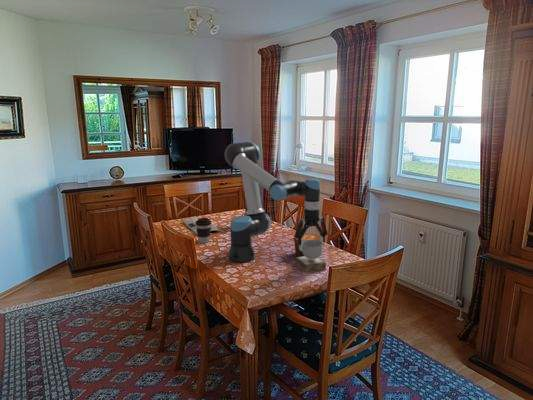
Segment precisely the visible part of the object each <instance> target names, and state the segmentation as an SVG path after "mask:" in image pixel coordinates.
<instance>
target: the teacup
mask: <svg viewBox="0 0 533 400" xmlns="http://www.w3.org/2000/svg"><path fill="white" fill-rule="evenodd" d="M323 245H324V242H323V243H322V242H321V241H319V240H312V239H309V240H306V241H303V255H304V256H306V257H307V258H309V259H316V258H318V257H319V258H321V256H322V254H323V247H324V246H323Z"/></svg>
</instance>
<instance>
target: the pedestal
mask: <svg viewBox="0 0 533 400" xmlns="http://www.w3.org/2000/svg"><path fill="white" fill-rule="evenodd" d="M295 266H297V268H299V269H300V270H301V272H303V273H305V274H307V273H315V272H321V271H326V270H327V262H326V261H325V260H323V259H322V258H321V257H318V258H316V259H309V258H307V257H306V256H303V257H297V256H296V257H295Z"/></svg>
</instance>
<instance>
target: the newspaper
mask: <svg viewBox="0 0 533 400" xmlns="http://www.w3.org/2000/svg"><path fill="white" fill-rule="evenodd" d="M199 218H200V217H192V218H187V219H182V223H184V225H185V226H186V227H188V228H189V229H190V230H191V231H192V232H193V233H194V234H195V235H196V236H197V225H196V223H195V222H196V221H198V219H199ZM201 218H204V217H201ZM210 226H211V232H212V231H215V233H222V230H221V229H220V228H218V226H216V225H215V224H213V222H211V224H210Z"/></svg>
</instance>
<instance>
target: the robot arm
mask: <svg viewBox="0 0 533 400" xmlns="http://www.w3.org/2000/svg"><path fill="white" fill-rule="evenodd" d="M224 150H225V151H224V158H225V161H226V162H227V163H228V165H230V166H231V167H232V168H233V169H234V170H235V169H236V170H239V171H240V172H241V177H242V184H243V189H244V196H245V198H246V202H245V205H246V204H247V212H246V213H245V212H244V214H245V215H246V216H245V215H237V216H235V217H233V218H232V219H231V220H230V227H229V229H230V247H229V251H228V253H227V259H228V260H229V261H231V262H234V263H240V264H242V263H248V262H252V261H253V260H255V258H256V254H255V250H254V247H253V245H252V239H253V238H254V237H256V236H259V235H262V234H264V233H266V232H268V231H269V229H270V227H271V224H272V223H271V218H270V216H269V214H267V213H266V210H265V209H264V208H263V207H262V198H261V199H260V197H261V194H260V186H261V187H262V188H264V189H265V190H267V191H268V192H269V195H270V197H271V198H272V199H273V200H275V201H282V200H284V199H288V198H292V197H295V196H300V197H304V217H303V219H301V218H299V219H298V223H297V226H296V227H297V228H296V231H295V234H294V237H296V238H298V244H299V250H300V251H303V239H302V237H303V235H304V234H306V232H307V230H308V229H309V228H310V227H315V228H316V231H318V232H319V235H318V236H319V241H321V242H322V243H323V244H324V242H325V237H326V236H328V234H329V233H328V230H327V229H328V228H327V226H326V223H325V217H323V216H320V195H321V194H320V193H321V183H320V182H321V181H320V179H318V178H315V177H314V178H312V177H309V178H308V177H307V178H306V179H305V181H300V180H296V179H295V180H294V179H292V180H291V179H288V180H286V181H285V182H282V181H281V180H279V179H278V178H276V177H275V176H273V175H272V174H270V172H268V171H266V170H265V169H264V168H262V167H260V166H259V162H258V161H259V160H260V157H261V151H260V148H259V146H258V145H257V144H256V143H255V142H252V141H246V142H234V143H231V144H229V145H227V147H226V148H225V149H224ZM259 185H260V186H259ZM319 223H320V225H319Z"/></svg>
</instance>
